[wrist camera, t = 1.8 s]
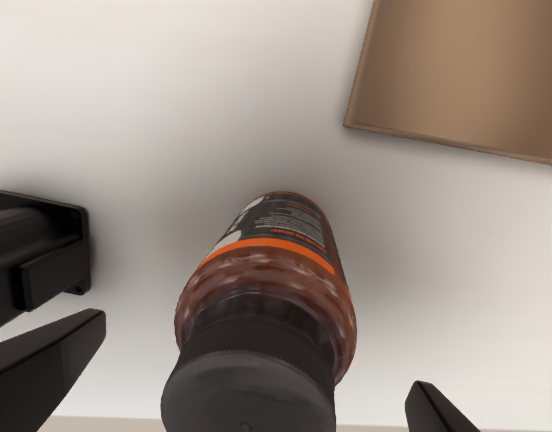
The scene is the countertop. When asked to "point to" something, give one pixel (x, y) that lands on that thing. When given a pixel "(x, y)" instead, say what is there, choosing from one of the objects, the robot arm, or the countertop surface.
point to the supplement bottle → (263, 326)
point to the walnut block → (459, 75)
